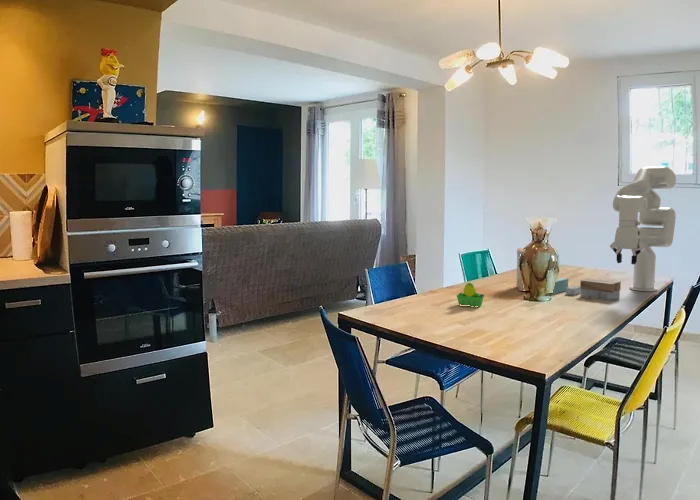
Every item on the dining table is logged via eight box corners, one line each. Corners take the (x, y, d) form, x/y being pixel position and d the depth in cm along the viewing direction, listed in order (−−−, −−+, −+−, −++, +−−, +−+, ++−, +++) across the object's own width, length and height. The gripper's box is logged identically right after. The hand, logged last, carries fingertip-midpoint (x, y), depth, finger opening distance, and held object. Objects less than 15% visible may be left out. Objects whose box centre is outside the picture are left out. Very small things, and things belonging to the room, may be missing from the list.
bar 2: (586, 294, 269) (587, 286, 268) (595, 295, 266) (595, 287, 266) (580, 297, 262) (580, 289, 262) (589, 298, 259) (589, 289, 259)
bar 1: (572, 292, 274) (572, 285, 273) (580, 293, 271) (580, 286, 271) (565, 294, 268) (566, 288, 268) (573, 295, 265) (574, 289, 265)
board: (588, 286, 268) (589, 278, 268) (620, 289, 257) (620, 281, 256) (580, 288, 262) (580, 280, 262) (612, 292, 251) (612, 284, 251)
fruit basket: (484, 305, 247) (485, 280, 246) (480, 309, 239) (481, 284, 238) (460, 303, 252) (460, 279, 251) (455, 307, 244) (455, 282, 243)
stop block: (562, 289, 281) (562, 277, 280) (567, 290, 279) (568, 278, 278) (548, 293, 272) (548, 281, 271) (554, 294, 269) (554, 282, 269)
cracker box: (531, 292, 276) (532, 251, 273) (518, 291, 277) (519, 251, 274) (527, 287, 289) (528, 248, 287) (516, 286, 290) (516, 247, 288)
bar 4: (611, 297, 260) (612, 289, 260) (619, 298, 257) (619, 290, 256) (599, 299, 256) (599, 291, 256) (607, 301, 253) (607, 292, 252)
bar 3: (599, 295, 265) (599, 287, 264) (607, 296, 262) (607, 288, 261) (590, 298, 259) (590, 289, 258) (599, 299, 256) (599, 291, 255)
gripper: (651, 224, 243) (649, 264, 245) (612, 222, 256) (610, 261, 258) (644, 225, 238) (643, 266, 240) (605, 223, 251) (603, 262, 253)
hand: (626, 263), depth 249 cm, fingers open, 5 cm apart
